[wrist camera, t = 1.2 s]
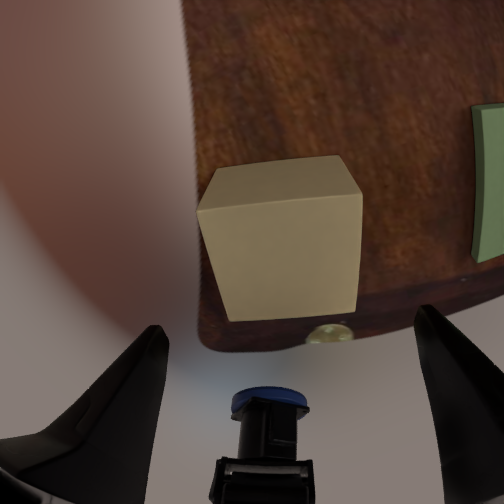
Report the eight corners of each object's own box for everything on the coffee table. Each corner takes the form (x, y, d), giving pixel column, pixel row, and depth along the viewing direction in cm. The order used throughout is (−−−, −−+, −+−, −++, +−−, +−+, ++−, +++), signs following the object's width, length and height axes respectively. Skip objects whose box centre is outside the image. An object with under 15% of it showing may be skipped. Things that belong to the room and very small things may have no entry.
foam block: (340, 255, 17) (355, 312, 13) (238, 264, 18) (229, 322, 14) (338, 154, 13) (363, 193, 10) (216, 168, 14) (194, 210, 11)
